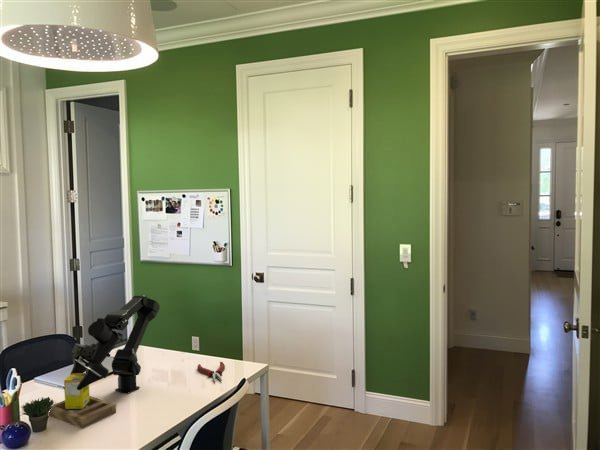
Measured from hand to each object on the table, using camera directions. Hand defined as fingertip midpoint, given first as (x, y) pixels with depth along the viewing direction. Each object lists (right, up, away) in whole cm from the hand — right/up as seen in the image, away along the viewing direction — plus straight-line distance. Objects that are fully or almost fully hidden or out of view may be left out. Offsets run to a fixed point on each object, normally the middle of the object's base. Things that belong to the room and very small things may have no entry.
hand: (72, 386), depth 163 cm
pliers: (+40, -8, +38) cm, 55 cm away
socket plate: (+3, -10, 0) cm, 10 cm away
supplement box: (+1, -8, +2) cm, 8 cm away
